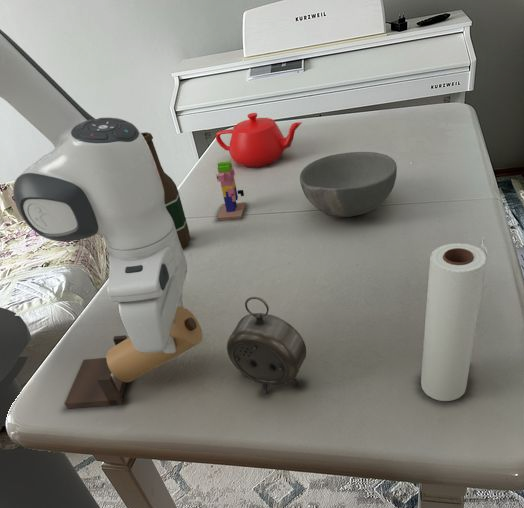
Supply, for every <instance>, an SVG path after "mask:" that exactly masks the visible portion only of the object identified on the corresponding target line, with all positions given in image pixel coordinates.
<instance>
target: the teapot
mask: <svg viewBox="0 0 524 508" xmlns="http://www.w3.org/2000/svg"><path fill="white" fill-rule="evenodd" d="M246 116H247V119H245V120H242V121H240V122H238V123H237V124H235V125H234V126H233V128H232V129H222V130H219V131H218V132H216V133H215V140H216V142H217V144H218V145H219V146H220V147H221V148H222V149H223V150H224V151H228V152H229V155H230V157H231V159H232V160H233V161H234V162H235V163H236V164H238V165H240V166H243V167H246V168H261V167H266V166H269V165H271V164H273V163H275V162H276V161H277V160H278V159H279V158H280V157H282V156H283V153H284V151H285V150H286V149H288V148H291V146H292V143H293V141H294V137H295V133H296V130H297V129H298V128H299V127H300V126H301V124H303V122H301V121H299V122H298V121H297V122H294V123H292V124H290V127H289V128H288V129H289V130H288V133H287V135H286V137H284V134H283V133H282V131H281V129H280V128H279V125H278V124H277V123H276V121H275V120H274V119H272V118H271V117H258V113H257V112H251V113H248V114H247V115H246ZM226 134H227V135H228V134H231V137H230V141H229V145H227V144H226V143H225V142H224V141H223V139H222V137H221V135H226Z"/></svg>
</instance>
